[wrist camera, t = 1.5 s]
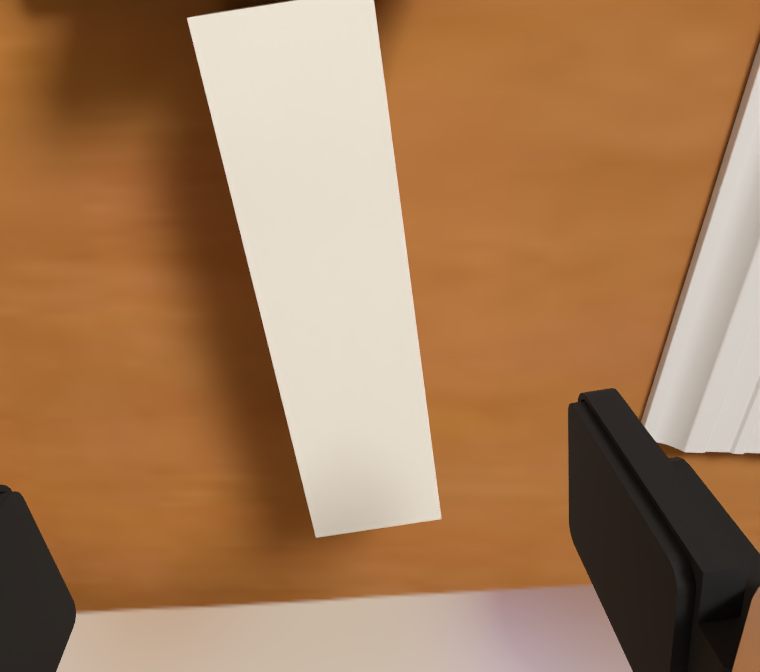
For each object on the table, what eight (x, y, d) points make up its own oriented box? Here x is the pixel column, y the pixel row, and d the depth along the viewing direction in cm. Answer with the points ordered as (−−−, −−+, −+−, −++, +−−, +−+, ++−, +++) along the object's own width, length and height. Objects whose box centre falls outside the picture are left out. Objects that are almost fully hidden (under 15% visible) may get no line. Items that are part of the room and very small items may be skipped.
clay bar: (221, 10, 19) (187, 17, 14) (363, -12, 19) (372, -12, 14) (319, 443, 26) (315, 537, 21) (422, 427, 26) (441, 518, 21)
